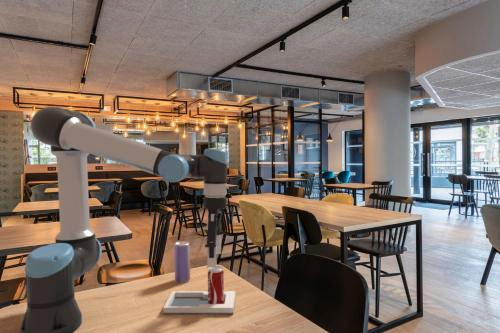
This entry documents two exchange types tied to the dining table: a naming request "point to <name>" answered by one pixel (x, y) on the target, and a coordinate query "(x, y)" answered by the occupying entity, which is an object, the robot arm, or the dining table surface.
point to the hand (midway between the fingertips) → (214, 260)
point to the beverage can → (182, 262)
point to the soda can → (216, 285)
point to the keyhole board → (198, 304)
